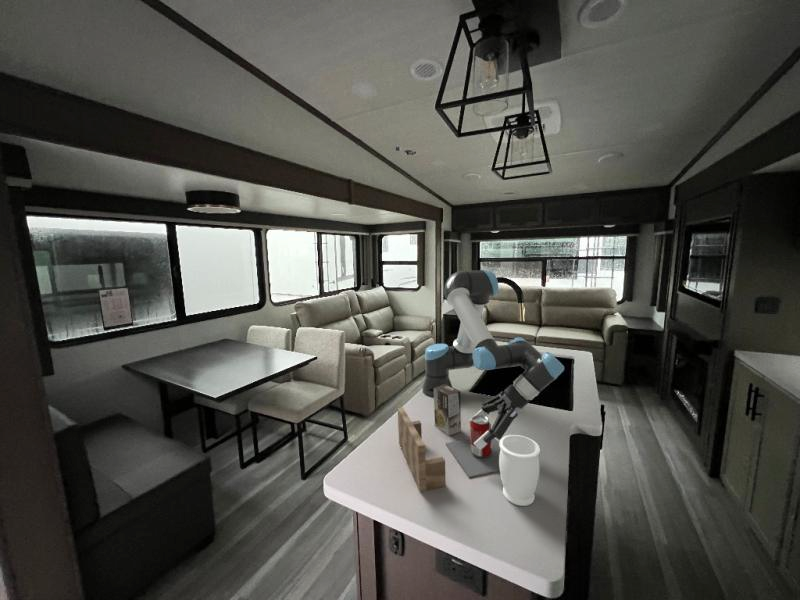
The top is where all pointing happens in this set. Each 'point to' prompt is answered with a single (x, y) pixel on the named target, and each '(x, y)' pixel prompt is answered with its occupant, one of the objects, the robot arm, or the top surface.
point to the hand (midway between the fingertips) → (473, 434)
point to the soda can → (476, 431)
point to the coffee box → (447, 409)
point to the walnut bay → (419, 455)
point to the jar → (519, 468)
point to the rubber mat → (475, 458)
